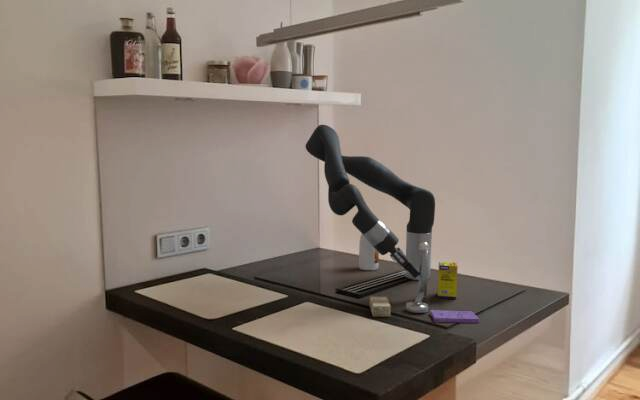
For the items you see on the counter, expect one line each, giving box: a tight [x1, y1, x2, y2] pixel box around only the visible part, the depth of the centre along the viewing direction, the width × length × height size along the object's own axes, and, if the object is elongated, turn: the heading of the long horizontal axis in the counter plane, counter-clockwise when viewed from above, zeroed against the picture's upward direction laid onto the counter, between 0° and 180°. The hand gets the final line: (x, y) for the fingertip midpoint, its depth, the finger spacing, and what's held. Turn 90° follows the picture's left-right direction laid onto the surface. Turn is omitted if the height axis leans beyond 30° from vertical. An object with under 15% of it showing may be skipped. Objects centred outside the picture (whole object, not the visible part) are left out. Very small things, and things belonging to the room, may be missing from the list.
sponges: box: [430, 309, 480, 324], centre depth 160 cm, size 7×13×2 cm, turn 89°
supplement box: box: [436, 261, 458, 300], centre depth 182 cm, size 6×6×11 cm
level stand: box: [369, 296, 392, 318], centre depth 164 cm, size 11×5×3 cm, turn 1°
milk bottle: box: [358, 233, 380, 271], centre depth 219 cm, size 8×8×20 cm
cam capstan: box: [405, 242, 429, 314], centre depth 171 cm, size 18×6×18 cm, turn 163°
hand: (417, 275), depth 178 cm, fingers closed
